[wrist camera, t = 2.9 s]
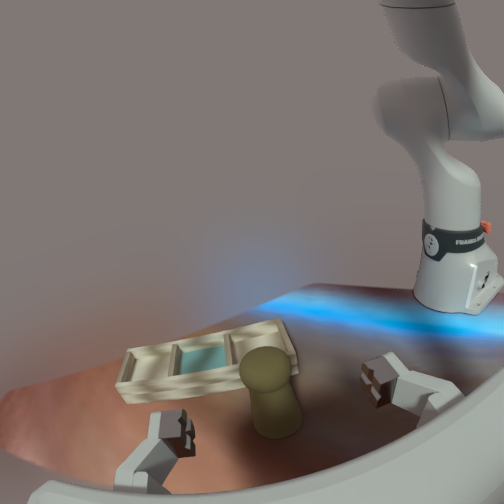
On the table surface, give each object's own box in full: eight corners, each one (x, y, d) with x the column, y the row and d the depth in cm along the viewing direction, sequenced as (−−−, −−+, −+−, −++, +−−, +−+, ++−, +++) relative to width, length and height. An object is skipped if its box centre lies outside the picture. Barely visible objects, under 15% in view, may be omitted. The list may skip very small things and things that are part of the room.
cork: (248, 408, 31) (227, 346, 27) (294, 395, 32) (283, 331, 28) (259, 444, 25) (236, 387, 22) (309, 429, 26) (303, 367, 22)
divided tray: (283, 336, 44) (279, 317, 43) (298, 373, 35) (295, 353, 34) (137, 366, 42) (127, 349, 41) (127, 403, 33) (114, 386, 32)
